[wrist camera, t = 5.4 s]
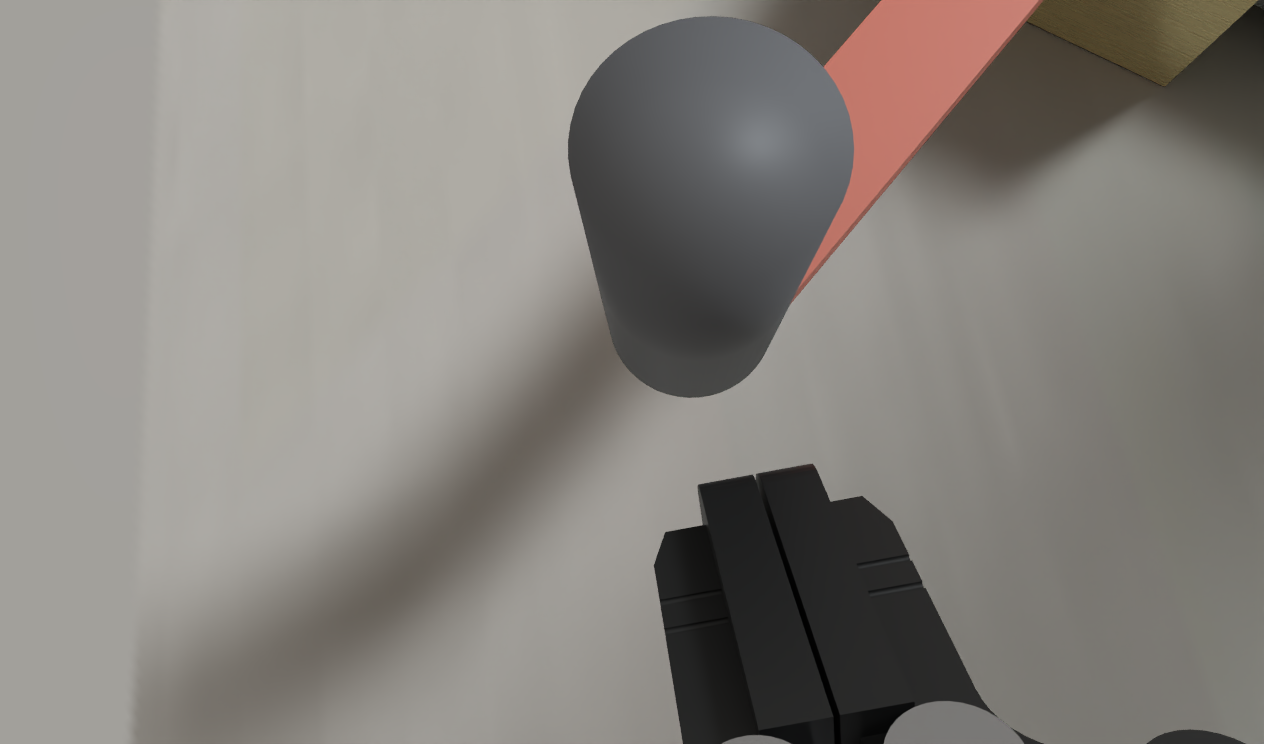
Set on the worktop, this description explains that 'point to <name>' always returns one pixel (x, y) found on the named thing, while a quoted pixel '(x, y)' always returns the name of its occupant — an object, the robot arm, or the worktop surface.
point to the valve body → (1142, 30)
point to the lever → (752, 168)
